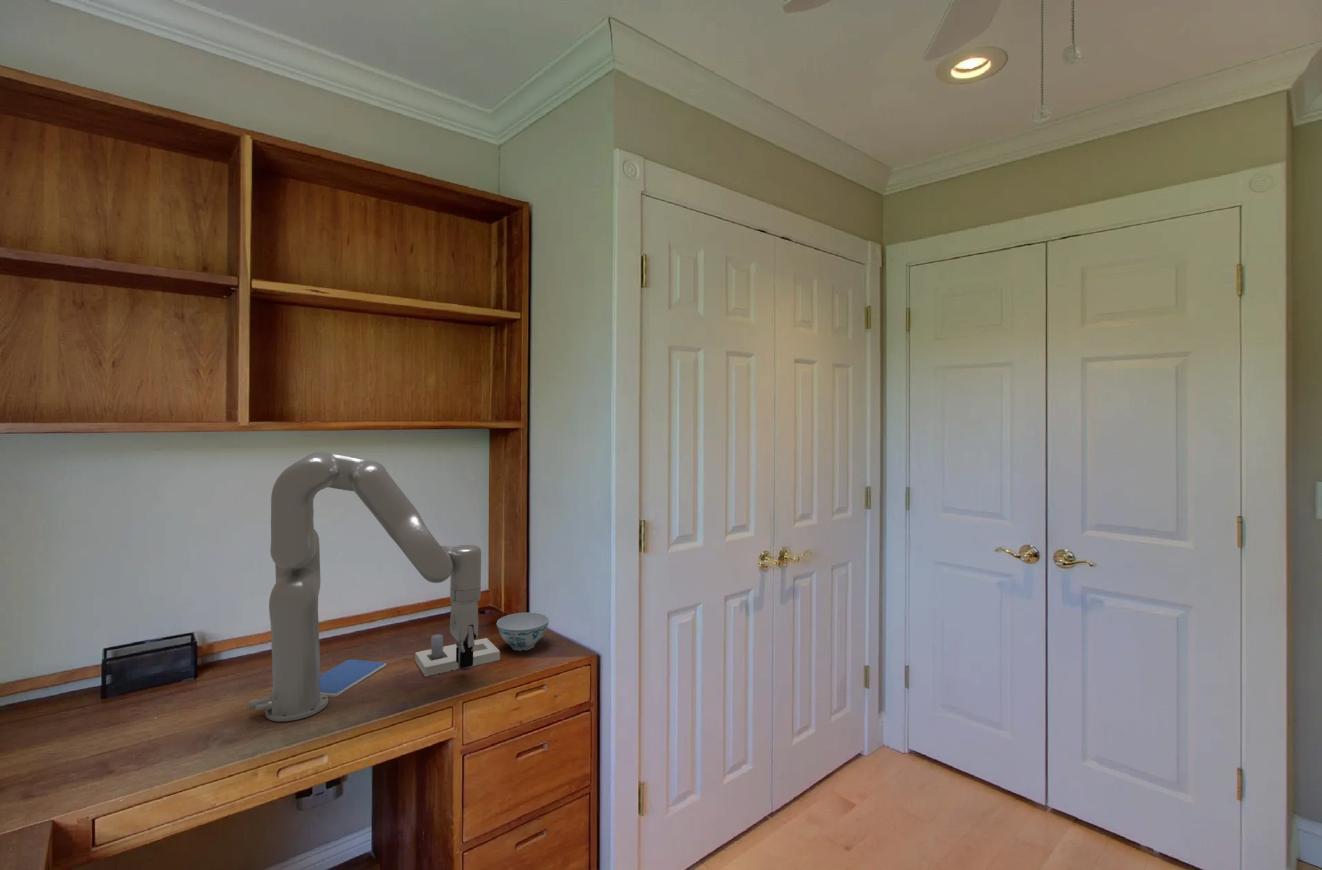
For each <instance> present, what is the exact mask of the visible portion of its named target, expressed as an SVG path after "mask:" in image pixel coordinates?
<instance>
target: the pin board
mask: <svg viewBox="0 0 1322 870" xmlns="http://www.w3.org/2000/svg"><path fill="white" fill-rule="evenodd" d="M430 639H431V640H430V645H431V648H430V649H425V650H421V651H416V652H415V653H414V654H415V655H414V658H415V659H414V661H415V663H416V664H417V665H418V667H419V669H420V671H421V672H422V674H423V676H424V677H425V678H426V677H431V676H435V675H439V673H440V674H443V673H448V672H449V673H450V672H452V671H451V670H453V671H457V669H458V663H457V662H456V647H457V646H456V643H455V644H450V645H445V646H444V635H443V634H441V633H440V634H438V633H437V634H434V635H431V637H430ZM474 644H475V645H474V647H473V665H472V666H471V667H475V666H480V665H483V664H488V663H489V664H490V663H493V662H497V661H500V660H501V651H500V649H498V648H497V647H496V645H494V643H492V642H491V641H490V640H489V638H487V637H485V638H481V639H476V640H474ZM458 647H459V646H458ZM458 670H459V669H458ZM430 675H431V676H430Z"/></svg>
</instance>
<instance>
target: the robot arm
mask: <svg viewBox="0 0 1322 870" xmlns="http://www.w3.org/2000/svg"><path fill="white" fill-rule="evenodd" d="M326 488H329V489H334V490H335V489H336V490H341V491H342V490H343V491H348V492H354V493H355V495H356V496H357V497H358V498H359V499H360V500H361V502H362V503H363V504H364V505H365V507H366V508H367V509H368V510H369V511H370V512H371V514H372V515H373V516H374V518H376V520H377V521H378V523H379V524H380V526H381V527H383V529H384V530H385V532H386V533H387V535H388V536H389V537H390V538H391V540H393V542H395V544H396V545H397V546H398V547H399V549H400V550H401V551H402V553H403V554H404V555H405V557H407V559H408V560H409V562H410V563H411V564H412V565H413V567H414V568H415V569H416V570H417V572H418V573H419V574H420V575H421V576H422V578H423V579H424V580H426V581H427V582H429V583H433V584H440V583H443V582H445V581H447V580H448V579H449V578H450V586H449V589H450V592H449V593H450V594H449V595H450V596H449V600H450V602H451V605H450V619H449V633H450V634H451V636H452V637H453V638H454V639H455V644H456V646H457V647H456V662H457V663H458V658H459V647H458V646H459V643H461V647H462V652H460V667H461V668H464V667H469V666H471V667H473V666H472V665H473V647H474V645H475V644H474V640H478V638H479V607H478V606H479V605H478V601H480V600H481V597H482V596H481V594H482V593H481V591H482V590H481V589H482V588H481V587H482V585H481V583H482V551H481V548H480V547H479V546H478V545H475V544H462V545H461V544H460V545H458V546H451V545H450V546H449V545H441V544H440V543H439V542H438V540H437V539H436V538H435V537H434V535H433V534H432V533H431V531H430V529H428V527H427V525H426V523H425V521H423V518H422V516H421V515H420V513H419V511H418V509H417V508H416V507H415V505H414V504H413V503H412V502H411V501H410V499H409V498H408V496H406V494H405V493H404V491H402V489H401V488H400V486H399V485H398V484H397V483H396V481H395V480H394V479H393V478H392V476H391V475H390V473H389V472H388V470H387V469H386V467H384V465H383V464H381V463H380V462H378V461H375V460H370V459H369V460H368V459H363V458H358V457H353V456H347V455H342V454H336V453H331V452H324V451H317V452H312V453H310V454H307V455H306V456H305V457H303V458H301V459H299V460H297V461H296V462H294V463H293V464H291V465H290V466H288V467H286V468H285V469H284V470H283V471H282V472H281V473H280V474H279V476H278V477H277V478H276V480H275V482H274V484H273V487H272V490H271V495H270V497H271V498H270V507H271V508H270V551H269V552H270V556H271V559H272V561H273V562H274V564H275V569H274V570H275V583H274V586H273V587H272V590H271V592H270V594H269V601H268V610H269V611H268V613H269V621H270V635H271V665H272V667H271V668H272V690H270V694H268V695H265V697H262V698H256V699H249V710H252V709H255V711H256V712H259V711H263V710H265V718H267V719H268V720H270V721H273V722H291V721H297V720H302V719H305V718H308V717H311V716H313V715H315V714H318V713H319V712H321V711H323V710H324V709H325V708H326V707H327V706H328V703H329V698H328V697H329V696H326V695H325V694H323V693H320V675H321V667H320V665H321V664H320V663H321V659H320V657H321V655H320V630H319V629H320V627H319V626H320V625H319V622H320V621H319V594H320V589H321V559H320V558H321V557H320V555H321V552H320V551H321V550H320V549H321V548H320V537H319V534H318V532H317V530H316V529H315V528H314V526H315V525H314V523H315V522H314V512H315V511H314V500H315V497H316V495H317V494H318V493H319V492H320V491H322V490H326ZM467 637H468V639H465V638H467ZM466 642H468V643H467V644H466V645H465V643H466Z"/></svg>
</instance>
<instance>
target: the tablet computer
mask: <svg viewBox="0 0 1322 870" xmlns="http://www.w3.org/2000/svg"><path fill="white" fill-rule="evenodd" d="M387 666H388V665H387V663H386V662H380V661H372V660H371V661H370V660H360V659H347V660H345V661H343V662H342V663H340V664H338V665H336V666H334V667H333V668H331V669H329V670H327V671H326V672H323V673H322V674H320V693H323V694H325V695H326V696H327V697H331V698H335V697H338V696H340V695H342V694H344V693H345V692H347V691H348V690H350V689H351V688H353V687H354V686H356V685H358V684H359V683H361V682H362V681H364V680H365V679H367V678H369V677H370V676H372V675H373V674H375V673H377V672H378V671H380V670H381V669H384V668H386V667H387ZM346 690H347V691H346ZM343 692H344V693H343Z"/></svg>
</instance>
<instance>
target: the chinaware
mask: <svg viewBox="0 0 1322 870" xmlns="http://www.w3.org/2000/svg"><path fill="white" fill-rule="evenodd" d="M496 621H497V622H496V627H497V631H498V634H499V636H500V638H501V639H502V640H503V642H505V643H506V644H508V645H509V646H510V647H511V649H512V650H514V651H517V650H518V652H519V651H520V652H523V651H522V650H525V651H529V650H532V649H533V648H535V646H536V645H535V644H537V643H538V642H539V641H541V640H542V638H543V637H544V636H545V634H546V632H547V629H548V626H549V621H550V620H549V617H548V616H547V615H545V614H543V613H537V612H518V613H517V612H516V613H513V614H508V615H504V616H502V617H501V618H499V619H498V620H496ZM531 648H532V649H531Z"/></svg>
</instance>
